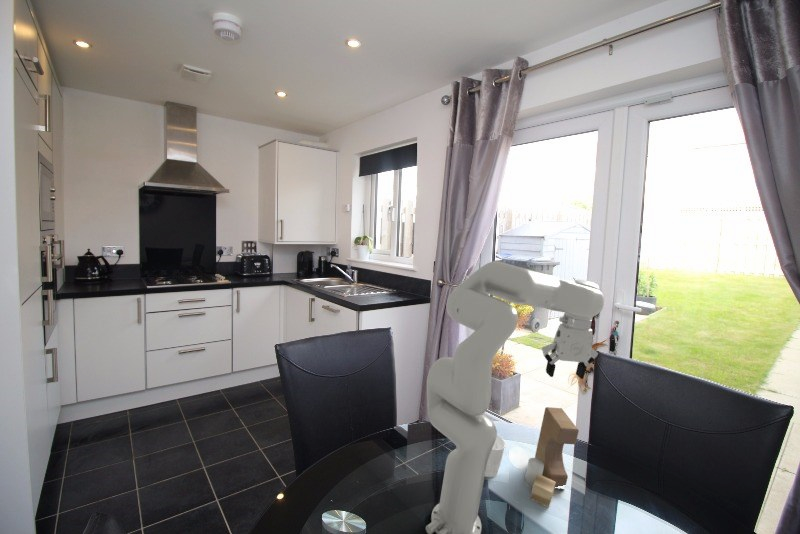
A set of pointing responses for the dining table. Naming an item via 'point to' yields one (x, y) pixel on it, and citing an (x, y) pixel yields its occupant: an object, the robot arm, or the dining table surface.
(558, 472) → the decorative block
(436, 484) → the dining table surface
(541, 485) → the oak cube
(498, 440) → the white cup
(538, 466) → the grey tub
